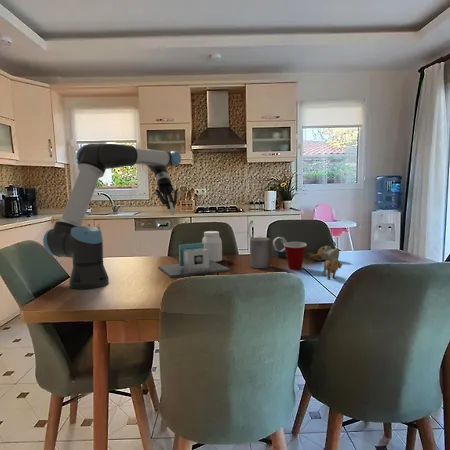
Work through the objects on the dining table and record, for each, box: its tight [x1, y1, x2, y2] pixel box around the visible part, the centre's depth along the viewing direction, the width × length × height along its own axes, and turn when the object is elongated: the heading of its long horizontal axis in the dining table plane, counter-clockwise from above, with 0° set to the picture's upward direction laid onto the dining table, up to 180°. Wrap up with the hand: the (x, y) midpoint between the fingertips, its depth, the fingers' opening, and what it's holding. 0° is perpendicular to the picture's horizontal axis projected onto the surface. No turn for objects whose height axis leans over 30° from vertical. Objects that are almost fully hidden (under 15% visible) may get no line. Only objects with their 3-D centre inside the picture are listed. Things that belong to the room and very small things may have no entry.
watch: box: [272, 236, 287, 259], centre depth 202 cm, size 6×8×11 cm
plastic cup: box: [283, 241, 308, 271], centre depth 172 cm, size 11×11×12 cm
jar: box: [201, 230, 223, 263], centre depth 196 cm, size 12×10×15 cm
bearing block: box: [157, 248, 230, 279], centre depth 174 cm, size 28×22×10 cm
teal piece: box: [178, 242, 204, 266], centre depth 170 cm, size 12×12×10 cm
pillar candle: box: [249, 236, 271, 269], centre depth 178 cm, size 10×10×15 cm
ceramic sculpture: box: [309, 244, 340, 261], centre depth 190 cm, size 11×9×15 cm
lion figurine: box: [322, 258, 343, 281], centre depth 155 cm, size 15×5×9 cm, turn 8°
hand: (172, 213), depth 192 cm, fingers closed
